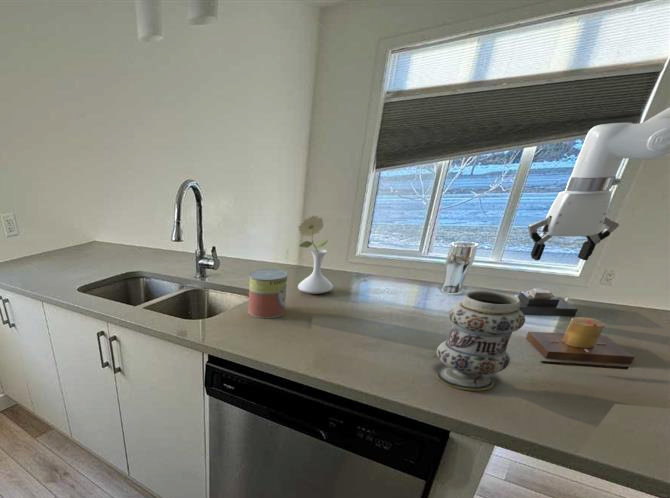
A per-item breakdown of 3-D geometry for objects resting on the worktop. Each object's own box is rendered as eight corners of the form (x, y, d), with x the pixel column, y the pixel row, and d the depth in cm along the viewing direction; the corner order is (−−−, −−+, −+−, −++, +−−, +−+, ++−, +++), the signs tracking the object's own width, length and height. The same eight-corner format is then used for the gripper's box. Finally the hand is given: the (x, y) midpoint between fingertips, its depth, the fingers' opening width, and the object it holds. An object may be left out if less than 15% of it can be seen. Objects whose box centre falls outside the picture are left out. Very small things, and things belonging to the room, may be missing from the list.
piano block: (557, 304, 115) (563, 290, 113) (574, 317, 107) (581, 302, 105) (497, 302, 119) (502, 289, 117) (509, 314, 111) (514, 300, 109)
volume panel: (599, 347, 92) (605, 334, 90) (627, 369, 83) (635, 356, 82) (523, 343, 97) (528, 330, 95) (543, 363, 88) (548, 350, 86)
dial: (557, 337, 91) (567, 315, 89) (586, 338, 90) (597, 316, 87) (568, 347, 87) (579, 324, 84) (599, 348, 85) (611, 325, 83)
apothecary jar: (509, 379, 84) (544, 295, 74) (484, 401, 78) (518, 313, 69) (445, 361, 92) (469, 283, 83) (419, 378, 87) (441, 298, 78)
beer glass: (434, 293, 130) (447, 245, 123) (441, 287, 134) (454, 240, 126) (459, 296, 125) (474, 247, 118) (466, 290, 129) (481, 242, 122)
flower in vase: (333, 287, 143) (343, 211, 131) (330, 297, 134) (341, 217, 122) (295, 285, 148) (301, 213, 136) (290, 295, 139) (296, 218, 127)
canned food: (278, 320, 121) (281, 280, 115) (243, 315, 127) (243, 278, 121) (289, 307, 129) (292, 270, 123) (255, 304, 135) (256, 268, 129)
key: (544, 295, 112) (546, 288, 111) (549, 299, 109) (552, 292, 108) (528, 294, 113) (530, 288, 112) (533, 298, 110) (535, 292, 109)
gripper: (626, 181, 95) (593, 255, 104) (536, 185, 100) (511, 255, 109) (647, 184, 89) (610, 262, 98) (550, 189, 94) (523, 262, 103)
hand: (558, 259), depth 103 cm, fingers open, 9 cm apart
